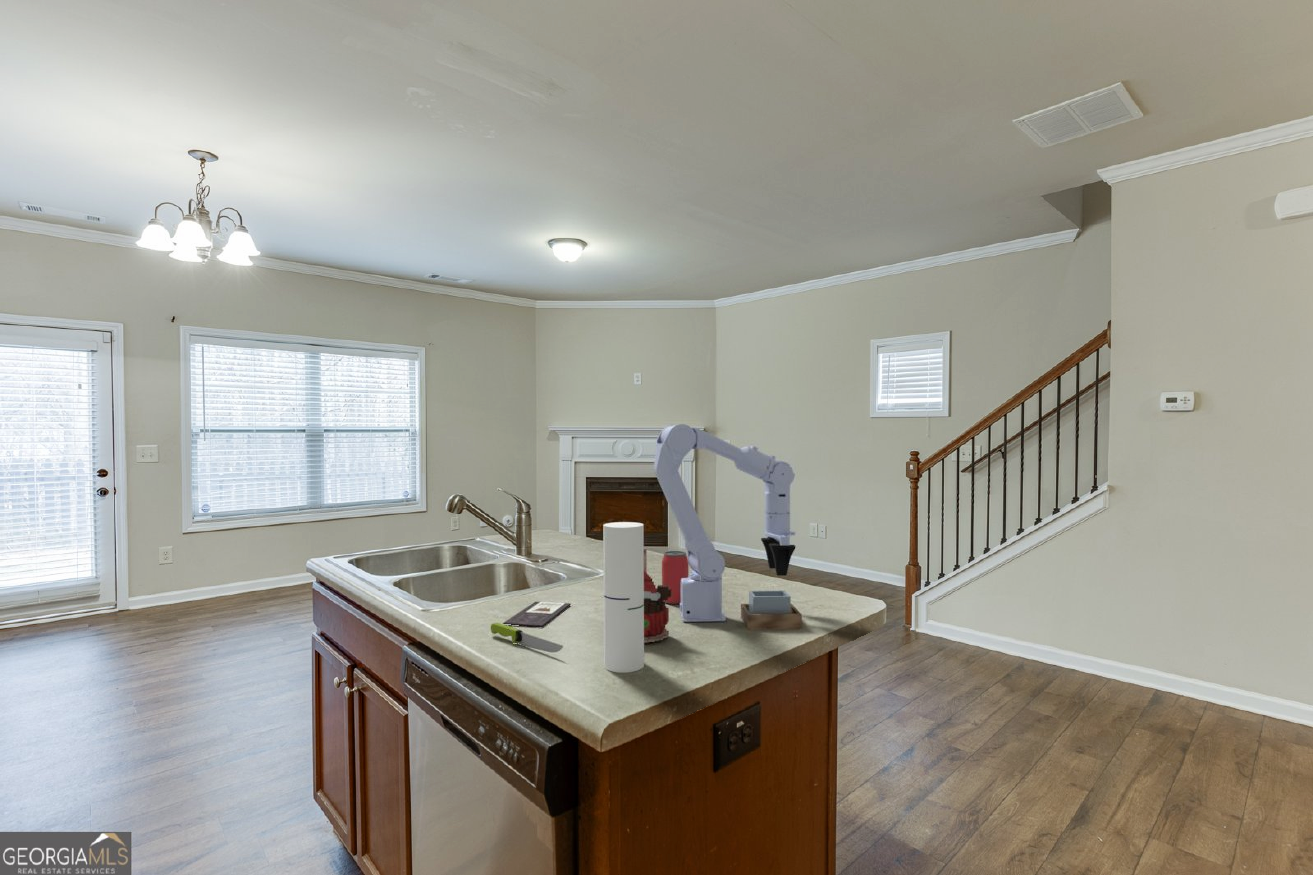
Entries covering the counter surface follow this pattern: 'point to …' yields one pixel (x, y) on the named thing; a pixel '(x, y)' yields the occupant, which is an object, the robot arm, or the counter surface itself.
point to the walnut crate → (771, 619)
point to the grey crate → (769, 602)
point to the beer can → (674, 573)
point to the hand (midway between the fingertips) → (777, 571)
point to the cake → (654, 608)
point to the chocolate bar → (537, 614)
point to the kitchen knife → (525, 638)
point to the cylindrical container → (623, 596)
